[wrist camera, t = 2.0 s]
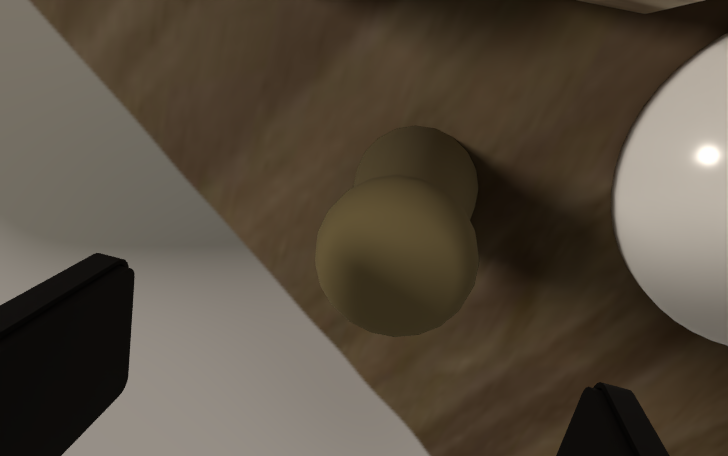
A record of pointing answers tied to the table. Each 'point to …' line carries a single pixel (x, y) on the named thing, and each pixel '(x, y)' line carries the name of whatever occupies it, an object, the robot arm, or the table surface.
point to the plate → (679, 194)
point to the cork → (402, 235)
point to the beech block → (642, 4)
